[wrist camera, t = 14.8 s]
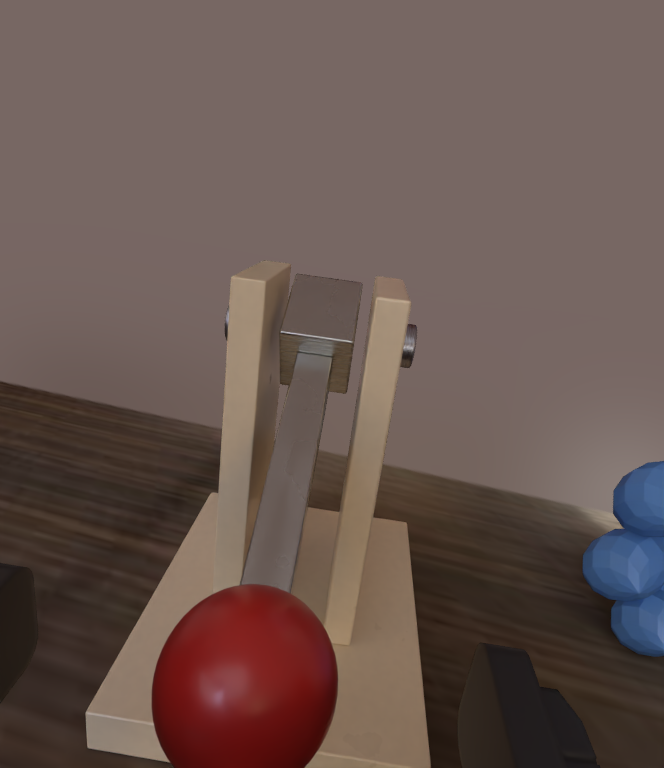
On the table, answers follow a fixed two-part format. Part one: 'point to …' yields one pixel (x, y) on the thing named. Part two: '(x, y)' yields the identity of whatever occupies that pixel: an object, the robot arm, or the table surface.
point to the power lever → (266, 582)
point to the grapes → (634, 561)
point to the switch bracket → (317, 554)
